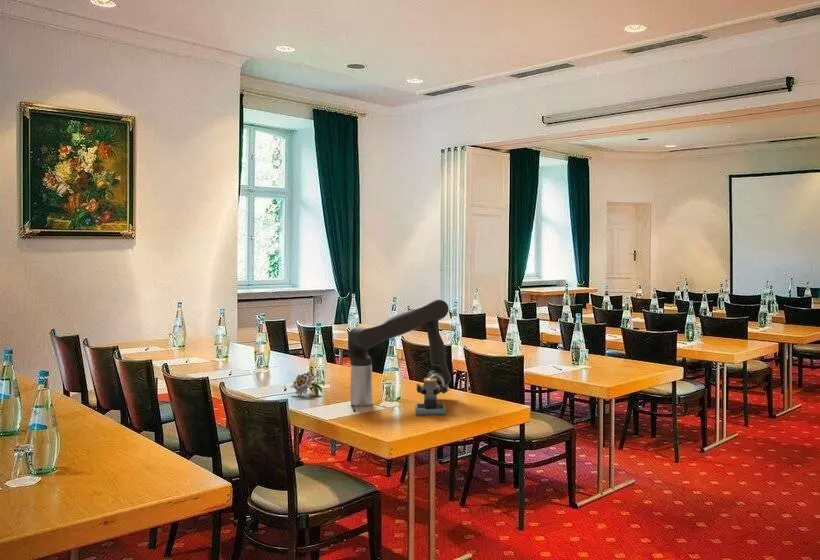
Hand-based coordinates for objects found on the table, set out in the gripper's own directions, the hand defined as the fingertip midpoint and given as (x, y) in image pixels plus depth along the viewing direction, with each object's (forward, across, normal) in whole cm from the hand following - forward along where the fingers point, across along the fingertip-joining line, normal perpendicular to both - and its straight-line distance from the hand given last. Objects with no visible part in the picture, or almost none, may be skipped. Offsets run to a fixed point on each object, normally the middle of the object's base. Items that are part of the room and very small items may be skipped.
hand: (429, 392), depth 293 cm
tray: (-2, 0, +9) cm, 9 cm away
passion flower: (-32, -61, +9) cm, 70 cm away
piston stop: (-3, 0, +7) cm, 7 cm away
